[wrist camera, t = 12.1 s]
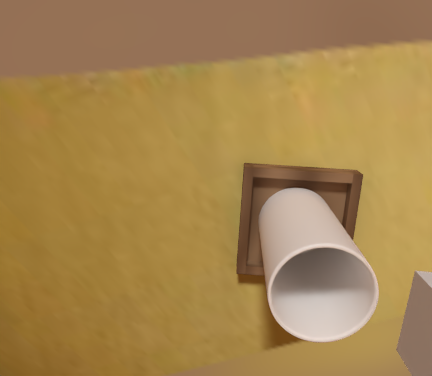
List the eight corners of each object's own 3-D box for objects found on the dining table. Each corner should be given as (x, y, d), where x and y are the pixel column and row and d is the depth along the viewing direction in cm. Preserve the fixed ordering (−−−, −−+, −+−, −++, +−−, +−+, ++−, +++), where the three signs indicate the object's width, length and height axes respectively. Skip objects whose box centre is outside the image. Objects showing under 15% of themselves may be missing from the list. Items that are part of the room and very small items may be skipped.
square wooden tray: (236, 264, 48) (236, 273, 45) (244, 162, 44) (244, 167, 42) (341, 272, 47) (346, 281, 45) (356, 170, 44) (363, 174, 42)
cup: (253, 250, 46) (259, 334, 31) (264, 182, 44) (277, 237, 28) (323, 259, 46) (365, 350, 30) (338, 192, 44) (391, 253, 28)
